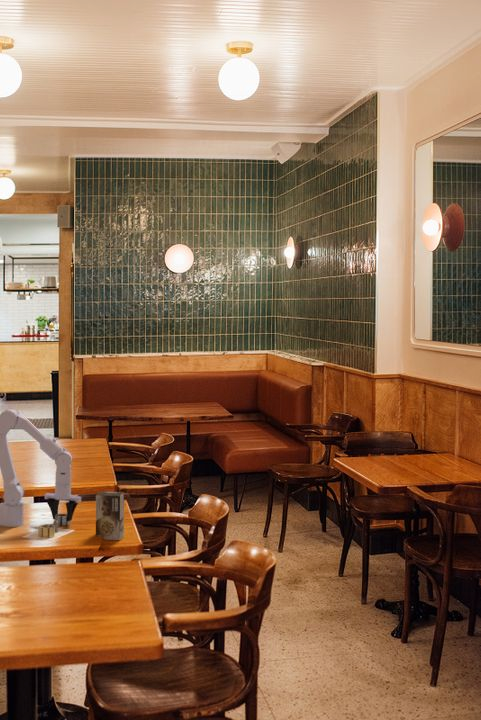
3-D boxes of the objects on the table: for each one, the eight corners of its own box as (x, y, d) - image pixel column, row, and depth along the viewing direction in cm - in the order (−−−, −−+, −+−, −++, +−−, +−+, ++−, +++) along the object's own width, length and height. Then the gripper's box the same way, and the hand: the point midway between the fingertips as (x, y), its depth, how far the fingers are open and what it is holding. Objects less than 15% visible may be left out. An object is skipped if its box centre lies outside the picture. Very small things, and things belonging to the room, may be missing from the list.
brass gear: (37, 537, 286) (37, 528, 286) (40, 533, 292) (40, 524, 292) (53, 537, 286) (53, 528, 286) (56, 533, 292) (56, 524, 292)
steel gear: (51, 525, 305) (52, 515, 305) (59, 521, 310) (59, 512, 310) (64, 526, 303) (64, 517, 303) (72, 523, 308) (72, 514, 308)
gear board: (21, 540, 287) (21, 525, 286) (46, 530, 302) (46, 516, 302) (51, 544, 283) (51, 529, 283) (75, 533, 298) (75, 519, 298)
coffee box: (124, 536, 296) (125, 491, 295) (119, 540, 290) (120, 495, 289) (99, 534, 297) (100, 490, 296) (94, 539, 290) (95, 494, 290)
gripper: (85, 483, 307) (84, 519, 308) (52, 480, 312) (51, 515, 312) (76, 486, 301) (75, 523, 301) (41, 483, 305) (41, 519, 306)
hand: (62, 519), depth 306 cm, fingers closed on steel gear, 5 cm apart
